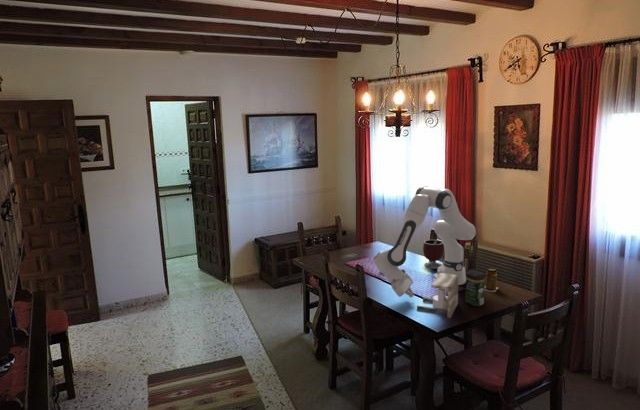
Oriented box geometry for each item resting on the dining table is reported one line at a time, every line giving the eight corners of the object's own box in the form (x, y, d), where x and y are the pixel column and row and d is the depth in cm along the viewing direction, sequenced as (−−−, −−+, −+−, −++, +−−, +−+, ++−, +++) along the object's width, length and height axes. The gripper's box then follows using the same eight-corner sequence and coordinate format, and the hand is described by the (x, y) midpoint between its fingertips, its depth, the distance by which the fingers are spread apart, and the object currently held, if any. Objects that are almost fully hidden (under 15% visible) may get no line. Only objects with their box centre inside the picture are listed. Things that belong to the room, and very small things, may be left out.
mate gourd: (421, 262, 315) (421, 235, 312) (440, 262, 315) (441, 235, 311) (425, 269, 300) (426, 241, 296) (446, 269, 299) (446, 240, 296)
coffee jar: (462, 302, 244) (463, 270, 241) (472, 299, 248) (473, 267, 245) (475, 308, 236) (476, 275, 233) (486, 304, 239) (487, 272, 236)
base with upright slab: (449, 312, 231) (449, 291, 229) (431, 311, 234) (432, 289, 232) (450, 306, 239) (451, 285, 237) (433, 304, 242) (433, 283, 240)
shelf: (415, 312, 233) (415, 282, 230) (424, 298, 251) (425, 271, 248) (450, 317, 225) (451, 287, 222) (457, 303, 242) (458, 275, 239)
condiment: (498, 287, 263) (499, 268, 261) (495, 292, 256) (496, 272, 254) (485, 285, 267) (486, 266, 265) (482, 290, 260) (483, 270, 258)
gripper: (393, 279, 235) (411, 299, 232) (404, 268, 253) (421, 287, 250) (385, 286, 238) (403, 306, 235) (397, 274, 256) (413, 293, 253)
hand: (412, 296), depth 243 cm, fingers closed
